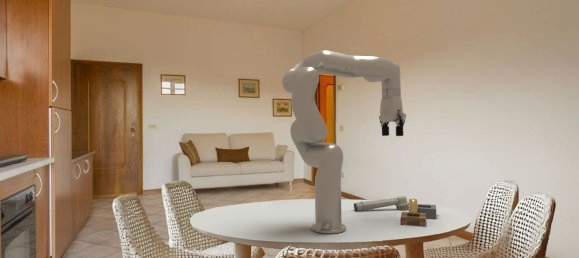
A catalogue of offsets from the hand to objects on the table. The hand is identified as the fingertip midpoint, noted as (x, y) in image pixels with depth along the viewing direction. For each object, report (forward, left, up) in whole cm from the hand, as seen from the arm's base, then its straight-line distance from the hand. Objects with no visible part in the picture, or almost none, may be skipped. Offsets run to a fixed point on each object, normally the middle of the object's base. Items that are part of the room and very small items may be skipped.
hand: (392, 135), depth 152 cm
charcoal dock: (+6, -12, -34) cm, 36 cm away
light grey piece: (+13, +6, -34) cm, 37 cm away
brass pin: (-7, -8, -34) cm, 35 cm away
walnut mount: (-7, -8, -34) cm, 35 cm away
